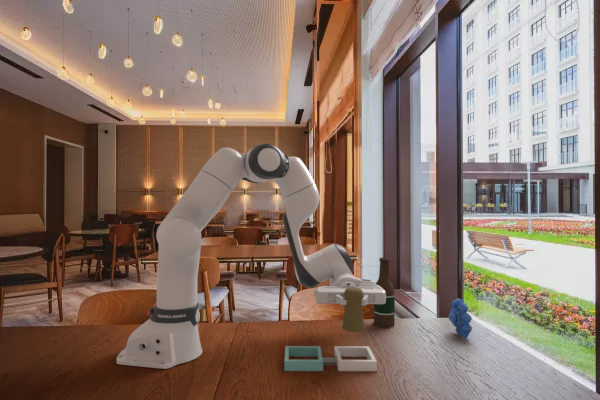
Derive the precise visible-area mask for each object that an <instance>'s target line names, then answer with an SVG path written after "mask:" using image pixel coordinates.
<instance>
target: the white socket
mask: <svg viewBox="0 0 600 400" xmlns="http://www.w3.org/2000/svg"><path fill="white" fill-rule="evenodd" d="M333 351H334V352H333V355H334V357H333V356H332V357H330V356H329V357H325V356H322V358H323V366H336V368H337V371H338V372H378V361H377V359H376V357H375V355H374V353H373V351H372V349H371V348H370V346H367V345H365V346H364V345H363V346H359V345H355V346H353V345H347V346H345V345H344V346H343V345H342V346H341V345H340V346H339V345H338V346H336V345H334V346H333ZM342 357H344V358H345V357H347V358H349V357H350V358H351V357H353V358H354V357H357V358H358V357H360V358H361V357H364V358H365V357H366V359H342Z"/></svg>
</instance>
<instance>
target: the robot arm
mask: <svg viewBox="0 0 600 400" xmlns="http://www.w3.org/2000/svg"><path fill="white" fill-rule="evenodd" d="M241 180H243V181H245V182H249V183H254V184H261V183H265V182H268V181H272V182H274V183H275V184H276V185H277V186H278V188H280V191H281V193H282V196H283V198H284V200H285V204H286V205H285V207H286V209H285V213H283V215H282V221H283V224H284V226H283V227H284V230H285V234H286V238H287V241H288V245H289V249H290V253H291V256H292V259H293V265H294V273H295V276H296V279H297V281H298V283H299V284H300V285H301V287H305V288H309V289H313V288H315V287H316V286H318V285H320V284H322V282H324V281H327V280H328V281H329V285H321V286H318V287H316V288H315V289H313V295H315V303H316V304H320V305H321V304H324V305H325V304H326V305H327V304H330V305H336V304H337V305H340V306H344V307H345V305H347V303H346V302H347V300H346V299H345V296H344V292H345V290H346V289H347V288H350V287H356V288H360V289H361V290H362V291H363V299H362V300H361V305H362V307H364V306H368V305H374V304H385V303H386V292H385V290H384V289H383V288H382V287H380V286H379V285H376V281H375V280H372V279H365V278H359V277H357V276H354V275H353V273H354V268H355V267H354V263H353V260H352V259H351V257H350V255H349V253H348V252H347V250H346V249H345V248H344V247H343V246H342V245H340V244H338V243H332V244H330V245H328V246H326V247H323V248H322V249H319V250H317V251H316V252H313V253H312V254H309V255H305V254H304V250H303V246H302V241H301V238H300V229H301V227H302V226H303V225H304V224H305V222H306V221H307V220H309V218H310V217H311V216H312V215H313V214H314V213H315V212H316V210H317V209H318V208H319V204H320V201H321V200H320V199H321V197H320V192H319V190H318V187H317V185H316V182H315V180H314V178H313V177H312V174H311V172H310V171H309V169H308V167H307V166H306V164H305V163H304V162H303V159H301V158H300V157H297V156H288V155H286V154H285V153H284V152H282V150H281V149H280V148H278V147H277V146H276V145H274V144H272V143H271V144H270V143H260V144H257V145H255V146H254V147H252V148H251V149H249V150H248V151H246V152H245V153H241V152H239V151H238V150H236V149H234V148H231V147H222V148H220V149H219V150H217V151H216V152H215V153H214V154H213V155H212V156H211V157H210V158H209V159H208V161H207V162H206V163H205V164H204V166H202V168H201V170H200V171H199V172H198V174H197V175H196V176H195V178H194V179H193V181H192V182H191V183H190V185H189V186H188V187H187V188H186V191H184V193H183V194H182V196H181V197H180V198H179V200H178V201H177V202H176V203H175V204H174V205H173V207H172V208H171V210H170V211H169V212H168V213H167V214H166V216H165V217H164V218H163V220H162V221H161V223H160V224H159V225H158V226H157V229H156V236H155V237H156V241H157V243H158V257H157V272H156V273H157V275H156V302H155V303H154V304H153V305H152V306H151V307H150V308H149V310H147V316H149V318H148V319H147V320H146V321H144V322H143V323H142V324H141V325H140V326H138V327H137V328H136V329H135V330H134V331H132V332H131V334H130V335H129V336H128V339H127V343H126V347H125V348H124V349H122V350H121V351H120V352H119V353H118V355H117V356H116V364H117V365H121V366H123V365H124V366H131V367H132V366H133V367H140V368H141V367H142V368H152V369H164V370H167V369H170V368H173V367H175V366H177V365H180V364H181V365H182V364H184V363H188V362H191V361H193V360H195V359H197V358H199V357H200V356H201V355H202V354H203V349H202V348H203V347H202V345H201V339H200V333H199V320H200V304H199V302H198V283H199V282H198V276H199V275H198V274H199V268H200V267H199V266H200V260H201V248H202V233H201V232H202V231H203V230H204V229H205V227H206V226H207V225H208V224H209V223H210V222H211V220H212V219H214V217H215V216H216V215H217V214H218V213H219V212H220V210H221V208H222V207H223V205H224V204H225V203H226V201H227V200H228V198H229V197H230V195H231V193H232V192H233V191H234V189H235V187H236V186H237V185H238V183H239V182H240V181H241Z"/></svg>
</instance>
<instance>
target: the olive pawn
mask: <svg viewBox="0 0 600 400" xmlns="http://www.w3.org/2000/svg"><path fill="white" fill-rule="evenodd" d="M344 296H345V299H346V300H347V302H346V303H347V305H345V306H344V312H343V319H342V327H341V328H342V329H343V330H344V331H345V332H349V333H360V332H363V331H364V330H365V322H364V314H363V306H362V305H361V300H362V299H363V291H362V290H361V289H360V288H356V287H350V288H347V289H346V290H345V292H344Z"/></svg>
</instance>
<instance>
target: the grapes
mask: <svg viewBox="0 0 600 400" xmlns="http://www.w3.org/2000/svg"><path fill="white" fill-rule="evenodd" d="M450 305H451V307H452V308H451V310H450V311H449V315H448V316H447V317H448V320H449V321H450V322H451V324H452V325H453V326H454V327H455V332H456V334H457V335H458V336H460V337H463V338H464V339H467V338H468V337H469V336H470V333H471V332H472V330H473V327H472V325H471V324H470V323H471V322H472V319H473V318H472V316H471V315H470V314H469V313H468V312H469V309H470V308H469V307H468V305H467V304H466V303H465V302H464V301H463V300H462V299H461V298H460V297H459V298H458V297H457V298H456V299H453V301H452V302H451V304H450Z"/></svg>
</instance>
